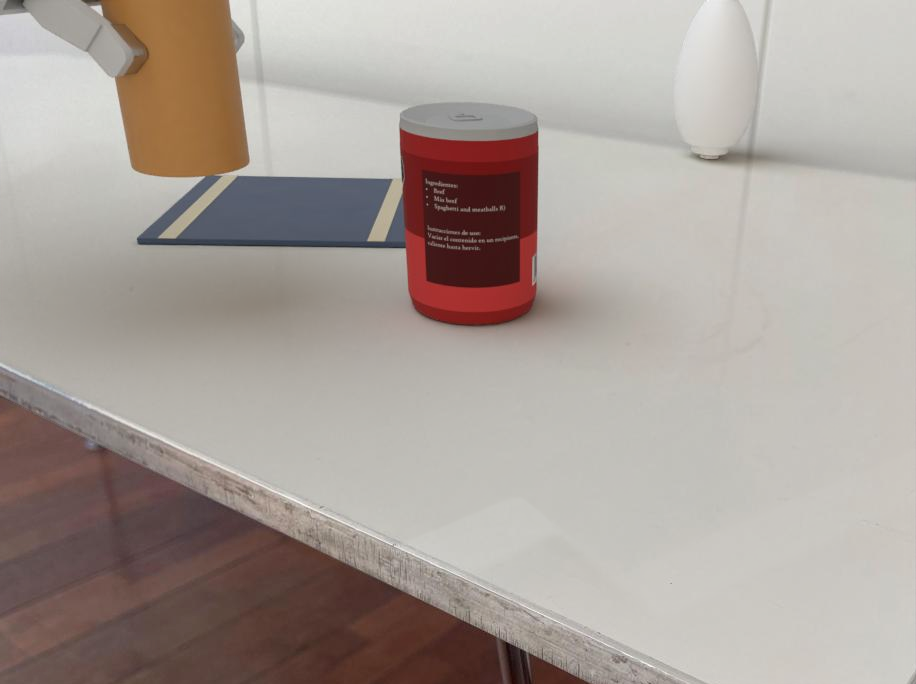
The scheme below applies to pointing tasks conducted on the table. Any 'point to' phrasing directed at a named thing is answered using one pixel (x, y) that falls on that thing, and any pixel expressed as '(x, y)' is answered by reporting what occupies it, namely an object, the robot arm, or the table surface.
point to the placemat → (285, 213)
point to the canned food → (470, 210)
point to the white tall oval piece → (716, 79)
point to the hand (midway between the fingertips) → (185, 58)
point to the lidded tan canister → (182, 88)
